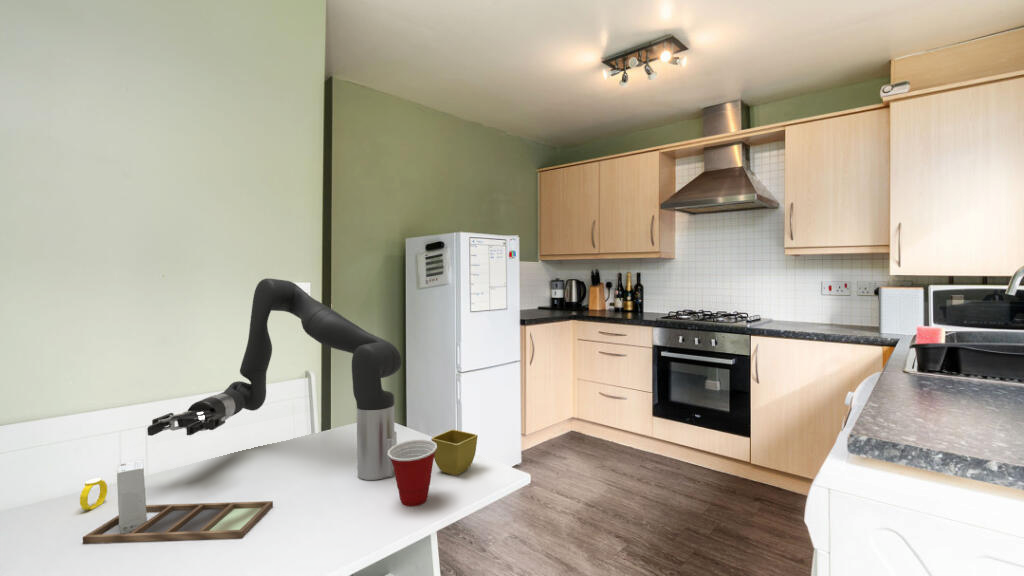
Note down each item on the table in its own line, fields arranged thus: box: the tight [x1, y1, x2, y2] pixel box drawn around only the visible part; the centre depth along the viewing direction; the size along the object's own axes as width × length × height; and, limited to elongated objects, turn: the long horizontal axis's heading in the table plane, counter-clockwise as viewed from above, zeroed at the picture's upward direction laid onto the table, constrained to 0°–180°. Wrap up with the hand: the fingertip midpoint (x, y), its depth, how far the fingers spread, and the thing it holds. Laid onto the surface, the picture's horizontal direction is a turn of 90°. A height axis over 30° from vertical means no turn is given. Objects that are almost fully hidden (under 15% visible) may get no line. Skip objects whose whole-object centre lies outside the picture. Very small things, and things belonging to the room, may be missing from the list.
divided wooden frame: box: [82, 500, 274, 545], centre depth 94 cm, size 29×13×1 cm, turn 92°
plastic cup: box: [388, 438, 437, 507], centre depth 103 cm, size 11×11×12 cm
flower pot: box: [430, 429, 478, 476], centre depth 119 cm, size 9×9×9 cm
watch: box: [79, 477, 108, 511], centre depth 102 cm, size 6×3×6 cm, turn 7°
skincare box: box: [116, 460, 148, 534], centre depth 94 cm, size 6×4×12 cm
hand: (168, 431), depth 105 cm, fingers open, 8 cm apart
